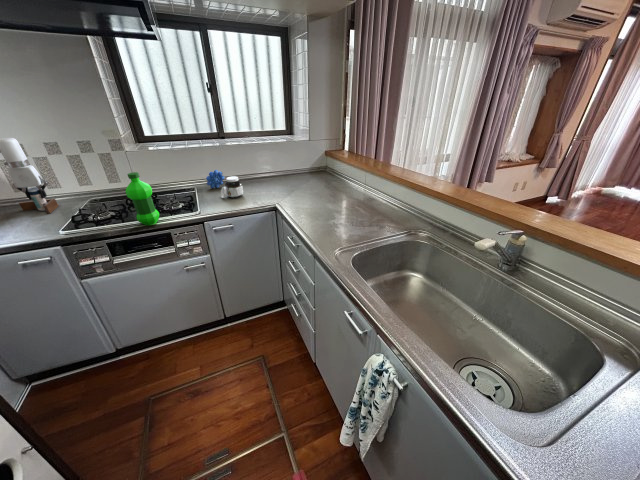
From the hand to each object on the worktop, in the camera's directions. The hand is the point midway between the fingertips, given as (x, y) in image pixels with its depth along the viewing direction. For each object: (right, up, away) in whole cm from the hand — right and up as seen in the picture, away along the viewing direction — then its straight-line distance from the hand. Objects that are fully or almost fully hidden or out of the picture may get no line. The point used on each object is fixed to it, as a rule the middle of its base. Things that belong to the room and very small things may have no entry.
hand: (38, 197), depth 143 cm
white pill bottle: (0, -6, +3) cm, 7 cm away
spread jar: (+98, +4, +21) cm, 100 cm away
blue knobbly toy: (+83, +12, +36) cm, 91 cm away
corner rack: (-2, -7, +2) cm, 8 cm away
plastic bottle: (+67, -14, -10) cm, 70 cm away
